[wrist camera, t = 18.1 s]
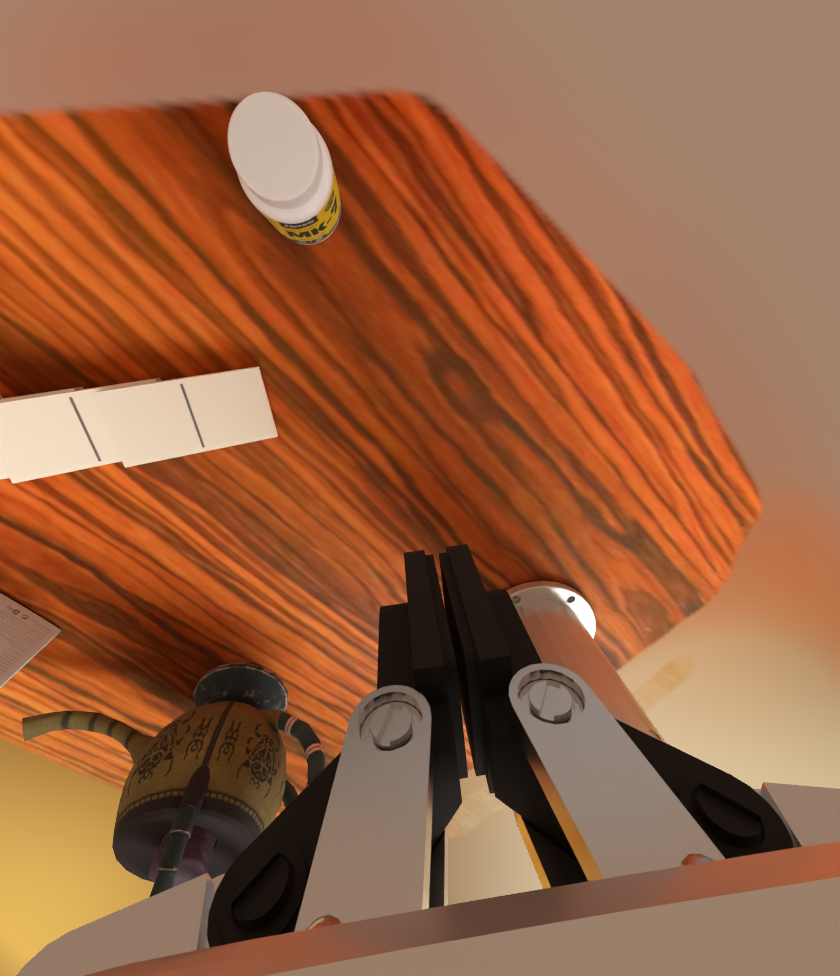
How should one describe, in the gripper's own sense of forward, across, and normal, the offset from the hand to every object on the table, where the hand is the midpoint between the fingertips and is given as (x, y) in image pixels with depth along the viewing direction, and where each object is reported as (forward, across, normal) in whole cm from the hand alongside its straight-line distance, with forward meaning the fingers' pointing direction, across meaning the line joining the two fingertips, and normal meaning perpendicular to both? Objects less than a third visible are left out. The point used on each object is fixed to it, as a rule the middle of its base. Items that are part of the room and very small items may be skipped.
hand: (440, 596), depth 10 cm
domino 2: (+21, +10, -4) cm, 24 cm away
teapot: (+23, +23, +24) cm, 41 cm away
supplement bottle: (+22, +5, -16) cm, 27 cm away
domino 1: (+21, +17, -4) cm, 27 cm away
